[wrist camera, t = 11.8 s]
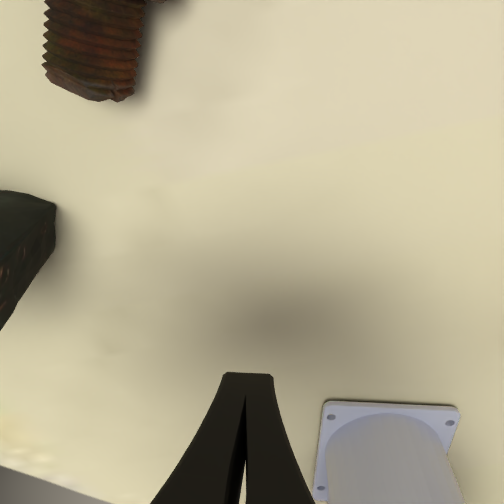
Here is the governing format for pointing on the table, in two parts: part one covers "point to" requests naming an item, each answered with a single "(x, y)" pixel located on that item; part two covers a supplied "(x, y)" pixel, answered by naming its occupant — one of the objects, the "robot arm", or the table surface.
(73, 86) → the bolt
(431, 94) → the table surface
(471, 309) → the table surface
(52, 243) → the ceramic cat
